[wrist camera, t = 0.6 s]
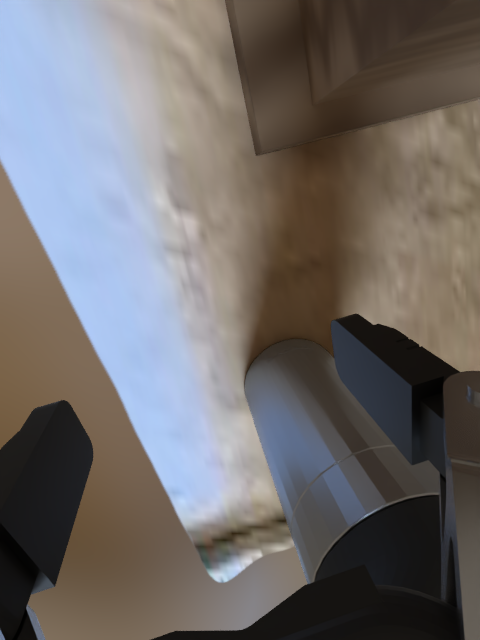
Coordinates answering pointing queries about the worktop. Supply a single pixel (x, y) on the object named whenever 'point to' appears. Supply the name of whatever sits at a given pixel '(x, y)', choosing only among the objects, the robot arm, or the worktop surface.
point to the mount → (350, 63)
